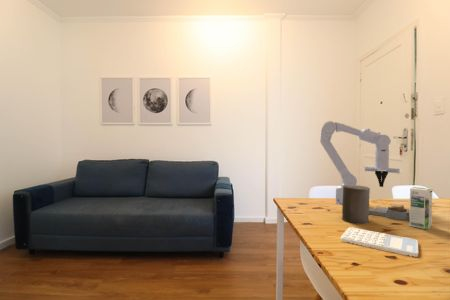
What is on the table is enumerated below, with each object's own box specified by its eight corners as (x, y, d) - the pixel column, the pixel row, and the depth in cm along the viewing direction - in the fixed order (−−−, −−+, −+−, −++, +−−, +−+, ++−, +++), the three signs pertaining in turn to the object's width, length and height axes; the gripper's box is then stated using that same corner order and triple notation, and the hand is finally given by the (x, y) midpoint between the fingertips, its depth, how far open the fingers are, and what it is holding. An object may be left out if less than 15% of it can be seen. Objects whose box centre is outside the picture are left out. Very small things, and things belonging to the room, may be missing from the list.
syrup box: (408, 226, 96) (409, 187, 96) (413, 223, 100) (414, 186, 99) (427, 230, 92) (428, 190, 91) (431, 226, 95) (432, 188, 95)
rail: (357, 214, 112) (357, 206, 112) (360, 210, 118) (360, 203, 118) (409, 222, 101) (409, 213, 101) (409, 217, 107) (409, 209, 107)
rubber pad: (375, 210, 119) (375, 209, 119) (376, 207, 125) (376, 206, 125) (393, 212, 115) (393, 211, 115) (393, 209, 121) (393, 208, 121)
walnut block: (389, 207, 107) (402, 206, 104) (391, 206, 110) (403, 204, 108) (392, 217, 107) (405, 216, 104) (394, 215, 110) (406, 214, 107)
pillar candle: (341, 221, 101) (342, 184, 101) (342, 215, 110) (343, 180, 109) (369, 225, 97) (370, 186, 96) (368, 218, 105) (369, 182, 105)
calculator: (348, 231, 92) (348, 225, 92) (418, 244, 80) (418, 238, 80) (339, 242, 81) (339, 236, 81) (418, 259, 69) (418, 252, 69)
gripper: (364, 158, 127) (363, 186, 127) (399, 160, 118) (398, 189, 119) (366, 158, 133) (365, 184, 133) (399, 159, 124) (399, 187, 124)
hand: (381, 186), depth 126 cm, fingers closed
